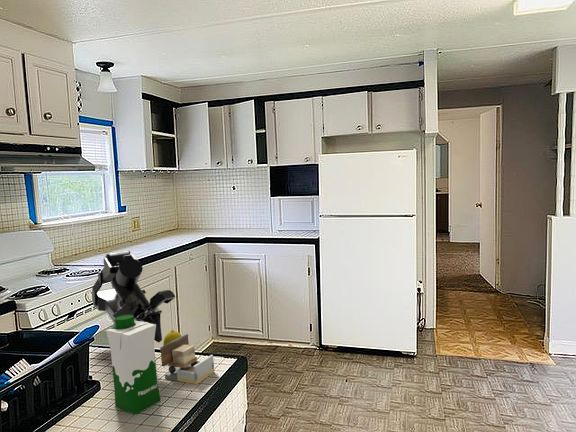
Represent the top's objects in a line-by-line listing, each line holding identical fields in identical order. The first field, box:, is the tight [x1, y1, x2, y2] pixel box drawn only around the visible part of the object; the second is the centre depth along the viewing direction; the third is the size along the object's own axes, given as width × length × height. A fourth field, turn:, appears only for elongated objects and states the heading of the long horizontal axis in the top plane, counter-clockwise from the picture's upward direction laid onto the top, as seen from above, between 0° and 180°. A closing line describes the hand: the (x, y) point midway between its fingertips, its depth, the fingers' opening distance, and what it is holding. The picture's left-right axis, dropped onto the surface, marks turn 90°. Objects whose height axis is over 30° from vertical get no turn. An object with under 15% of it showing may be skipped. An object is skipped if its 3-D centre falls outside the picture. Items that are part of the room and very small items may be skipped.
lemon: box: [163, 329, 183, 346], centre depth 128 cm, size 6×6×8 cm
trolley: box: [159, 333, 198, 373], centre depth 116 cm, size 5×10×8 cm, turn 153°
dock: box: [164, 354, 215, 385], centre depth 115 cm, size 10×7×4 cm
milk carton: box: [105, 314, 162, 416], centre depth 101 cm, size 9×9×20 cm
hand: (160, 341), depth 118 cm, fingers closed
